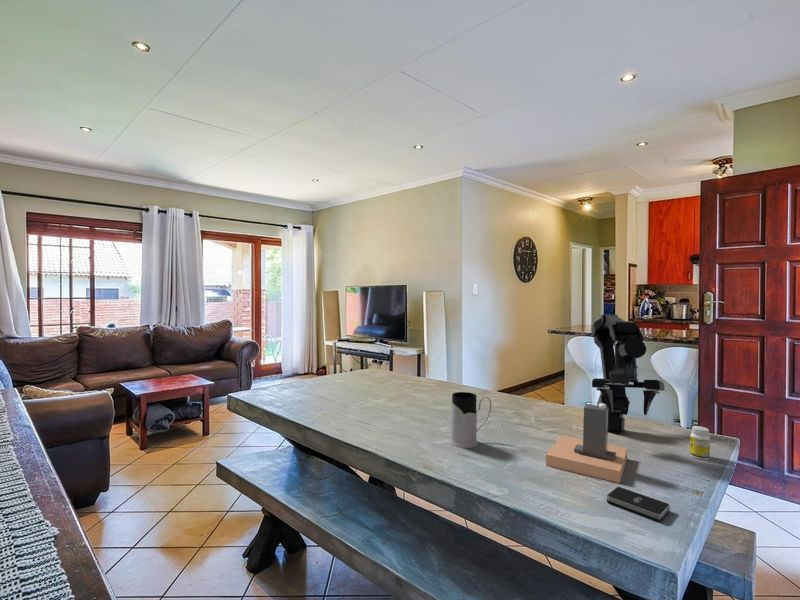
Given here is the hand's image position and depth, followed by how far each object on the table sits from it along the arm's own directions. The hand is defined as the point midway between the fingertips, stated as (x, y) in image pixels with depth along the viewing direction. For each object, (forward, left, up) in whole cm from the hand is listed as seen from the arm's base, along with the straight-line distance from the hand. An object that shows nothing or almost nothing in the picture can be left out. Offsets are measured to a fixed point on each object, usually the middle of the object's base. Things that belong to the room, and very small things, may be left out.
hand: (628, 413), depth 124 cm
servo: (-2, -18, -11) cm, 21 cm away
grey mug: (-35, -30, -11) cm, 47 cm away
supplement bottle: (+16, +11, -11) cm, 22 cm away
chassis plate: (-4, -17, -11) cm, 21 cm away
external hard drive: (+14, -33, -12) cm, 37 cm away
